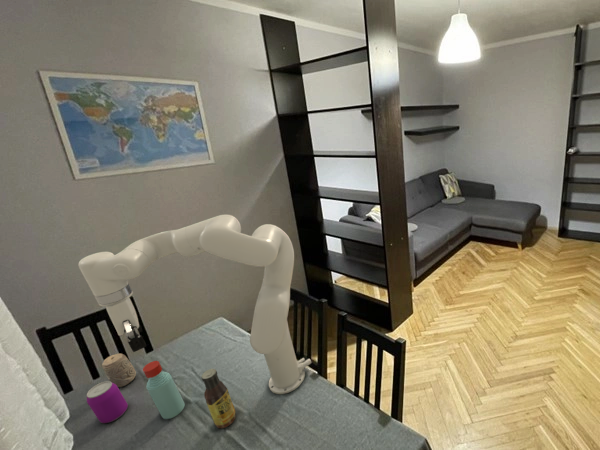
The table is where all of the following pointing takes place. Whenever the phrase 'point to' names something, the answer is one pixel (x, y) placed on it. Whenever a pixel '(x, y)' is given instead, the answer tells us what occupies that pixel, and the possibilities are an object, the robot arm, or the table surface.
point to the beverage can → (106, 401)
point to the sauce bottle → (218, 399)
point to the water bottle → (165, 395)
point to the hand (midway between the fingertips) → (138, 340)
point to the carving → (119, 370)
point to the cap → (152, 369)
